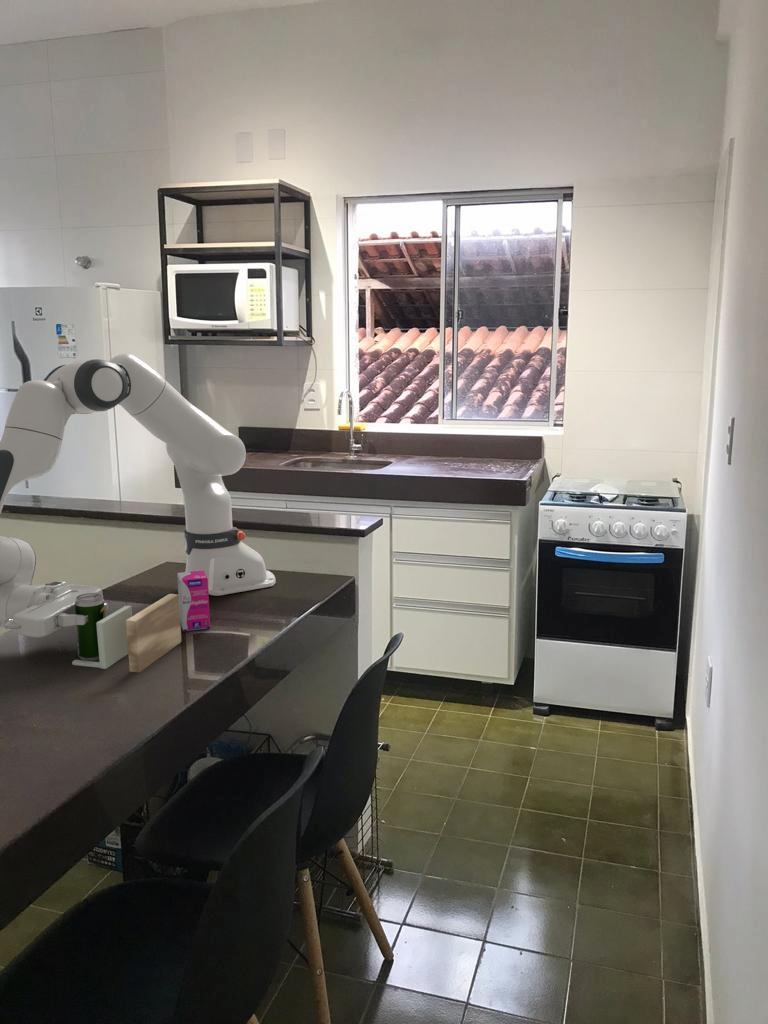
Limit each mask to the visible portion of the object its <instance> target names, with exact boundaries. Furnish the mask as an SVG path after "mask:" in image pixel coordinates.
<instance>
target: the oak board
mask: <svg viewBox="0 0 768 1024" xmlns="http://www.w3.org/2000/svg"><path fill="white" fill-rule="evenodd" d="M126 629H127V642H128V654H127V655H128V666H129V667H128V669H129V672H130V673H141V672H142V671H144V670H145V669H146V668H148V667H149V666H151V665H152V664H153V663H154V662H156V661H157V660H159V659H160V658H161V657H163V656H165V655H166V654H167V653H169V652H170V651H171V650H172V649H173V648H175V647H176V646H177V645H179V644H181V642H182V627H181V625H180V611H179V595H178V593H177V594H176V593H175V594H174V593H168V594H167V595H165V596H164V597H162V598H160V599H159V600H157V601H155V602H154V603H152V604H150V605H148V606H147V607H146V608H143V609H142V610H141V611H139V612H137V613H135V614H134V615H132V617H130V618H129V619H127V620H126Z"/></svg>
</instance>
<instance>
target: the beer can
mask: <svg viewBox="0 0 768 1024" xmlns="http://www.w3.org/2000/svg"><path fill="white" fill-rule="evenodd" d="M104 603H105V600H104V595H101V594H99V593H86V594H81V595H79V596H77V597H76V601H75V614H79V613H82V614H87V615H88V619H89V621H88V622H87V623H86V624H84V625H75V626H76V627H75V629H76V643H77V647H76V648H77V655H78V657H79V660H82V661H92V662H95V661H100V660H99V648H98V637H97V625H96V623H97V622H98V621H100V620H102V619H104V618H105V617H106V612H105V604H104Z"/></svg>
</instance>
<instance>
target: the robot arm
mask: <svg viewBox="0 0 768 1024" xmlns="http://www.w3.org/2000/svg"><path fill="white" fill-rule="evenodd" d="M118 405H119V406H120V407H122V408H123V409H124V410H125V411H126V412H127V413H128V414H129V415H130V416H132V418H133V419H134V420H136V421H137V423H139V424H140V425H141V426H142V427H144V428H145V430H147V431H148V432H149V433H150V434H151V435H152V436H154V437H155V438H157V439H158V440H160V441H161V442H163V443H165V444H166V446H165V448H166V452H167V455H168V457H169V458H170V459H171V461H172V464H173V465H174V468H175V472H176V475H177V478H178V481H179V485H180V488H181V493H182V497H183V502H184V518H185V530H184V536H183V539H184V540H183V541H184V551H185V554H186V563H185V571H184V572H192V571H205V574H206V576H207V578H208V592H209V595H210V596H214V597H215V596H216V597H217V596H219V597H220V596H225V595H229V594H235V593H240V592H247V591H254V590H258V589H265V588H269V587H273V586H275V584H276V576H275V575H274V573H273V572H271V571H270V570H268V569H266V564H265V561H264V559H263V557H262V555H261V554H260V553H259V552H257V551H256V550H254V549H253V548H252V547H250V546H248V545H247V544H246V543H244V542H242V541H244V540H245V539H246V537H247V536H246V533H245V532H244V531H242V530H241V529H239V528H237V527H236V526H233V512H232V509H233V508H232V497H231V495H230V492H229V491H228V489H227V487H226V486H225V483H224V480H223V477H224V476H230V475H234V474H236V473H237V472H239V471H240V469H242V467H243V466H244V464H245V461H246V457H247V452H246V450H247V449H246V446H245V444H244V442H243V441H242V439H241V438H240V437H238V436H237V435H235V434H234V433H232V432H230V431H229V430H227V428H225V427H223V426H222V425H221V424H219V423H218V422H217V421H216V420H214V419H213V418H212V417H210V416H209V415H207V414H206V413H205V412H204V411H202V410H201V409H200V408H198V407H196V406H195V405H194V404H192V403H191V402H190V401H189V400H187V399H186V398H185V396H183V395H182V394H181V393H180V392H179V391H178V390H177V389H175V388H174V386H173V385H171V383H170V382H168V381H167V380H166V379H165V378H164V377H163V376H162V375H161V374H160V373H159V372H158V371H156V370H155V369H154V368H152V367H151V366H150V365H148V364H147V363H146V362H144V361H143V360H141V359H140V358H138V357H137V356H135V355H133V354H131V353H120V354H117V355H115V356H113V357H112V358H110V359H109V361H108V360H103V359H99V358H98V359H97V358H96V359H90V360H89V359H87V360H84V359H83V360H76V361H73V362H70V363H68V364H62V365H59V366H57V367H55V368H54V369H52V370H51V371H50V372H49V373H48V374H47V375H46V377H45V378H44V379H33V380H29V381H28V380H27V381H26V382H23V383H22V384H21V385H20V386H19V388H18V389H17V392H16V393H15V395H14V398H13V400H12V403H11V405H10V409H9V411H8V414H7V416H6V417H7V418H6V421H5V426H4V430H3V433H2V436H1V438H0V514H2V510H3V508H4V505H5V501H6V500H7V496H8V495H9V493H10V492H11V490H12V489H13V488H14V487H16V486H17V485H19V484H20V483H22V482H25V481H29V480H34V479H37V478H39V477H42V476H43V475H46V474H47V473H48V472H51V470H53V469H54V467H55V465H56V463H57V462H58V459H59V456H60V453H61V448H62V444H63V439H64V435H65V427H66V425H67V423H68V420H69V419H70V417H71V416H72V415H76V414H77V415H88V414H93V413H96V412H97V413H98V412H106V411H109V410H111V409H113V408H115V407H116V406H118ZM36 557H37V556H36V552H35V550H34V548H33V547H32V545H31V544H30V543H29V542H27V541H26V540H24V539H21V538H17V537H16V538H15V537H10V536H5V535H0V629H2V628H3V629H6V630H13V631H14V633H15V634H17V635H19V636H20V635H21V636H24V637H29V638H37V639H38V638H44V637H48V636H49V635H51V634H53V633H55V632H56V631H58V630H60V629H62V628H63V627H64V628H65V627H71V626H76V625H84V624H86V623H87V622H88V621H89V619H88V615H87V614H82V613H79V614H75V601H76V597H77V596H79V595H81V594H86V593H99V594H101V595H103V594H104V593H103V590H102V589H101V588H100V587H98V586H93V585H86V584H77V583H76V584H72V583H71V584H67V581H64V580H57V581H53V582H49V583H44V584H43V583H42V584H33V585H32V582H33V578H34V575H35V571H36V567H37V566H36V565H37V558H36ZM103 596H104V595H103ZM104 604H105V613H107V612H109V604H108V603H107V602H104Z"/></svg>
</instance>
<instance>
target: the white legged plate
mask: <svg viewBox="0 0 768 1024" xmlns="http://www.w3.org/2000/svg"><path fill="white" fill-rule="evenodd" d="M132 616H133V610H132V605H124V606H123V607H121V608H119V609H117V610H115V611H114V612H113V613H110V614H109V615H107V616H105V618H104V619H102V620H100V621H98V622H97V623H96V625H97V637H98V648H99V660H98V661H85V660H81V659H74V660H72V662H71V664H72V666H80V667H90V668H99V669H101V670H106V669H108V668H109V667H111V666H112V665H114V664H115V663H117V662H118V661H120V660H121V659H123V658H124V657H126V656H127V655H128V642H127V629H126V620H127V619H129V618H130V617H132Z"/></svg>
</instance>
